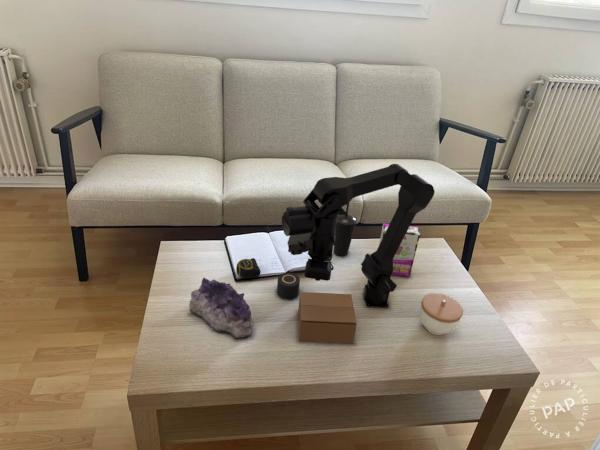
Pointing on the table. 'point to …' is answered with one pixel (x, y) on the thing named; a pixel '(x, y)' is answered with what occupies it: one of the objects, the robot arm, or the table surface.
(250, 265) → the tape measure
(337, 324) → the carton
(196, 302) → the geode
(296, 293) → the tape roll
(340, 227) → the drinking cup
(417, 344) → the table surface
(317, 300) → the flap
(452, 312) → the trinket box
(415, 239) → the candy bar box
